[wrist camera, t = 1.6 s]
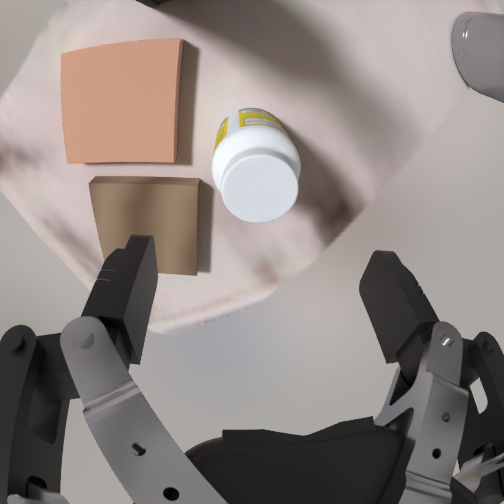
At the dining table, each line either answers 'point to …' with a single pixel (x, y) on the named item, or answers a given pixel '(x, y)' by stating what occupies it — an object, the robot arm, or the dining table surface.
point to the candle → (152, 2)
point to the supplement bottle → (255, 166)
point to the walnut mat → (149, 217)
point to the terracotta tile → (122, 101)
